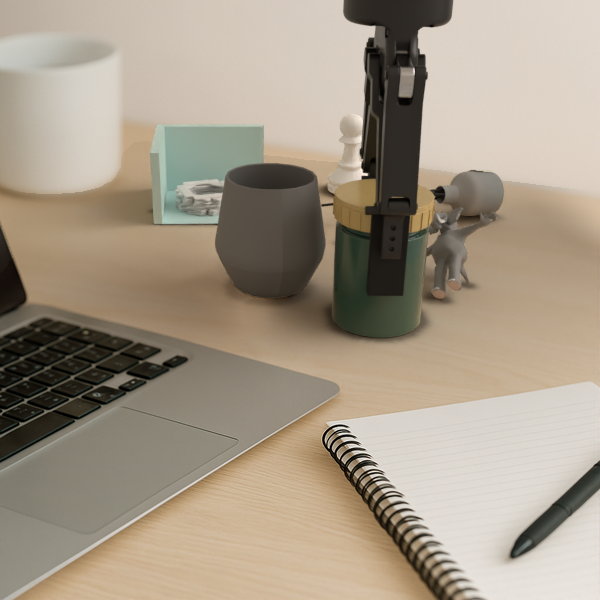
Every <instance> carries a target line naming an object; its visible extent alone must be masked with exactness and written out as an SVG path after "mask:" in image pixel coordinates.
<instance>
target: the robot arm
mask: <svg viewBox="0 0 600 600" xmlns="http://www.w3.org/2000/svg"><path fill="white" fill-rule="evenodd" d="M342 7H343V8H342V14H343V16H344V18H345V19H346V21H348V22H350V23H353V24H356V25H361V26H367V27H375V28H374V37H373V36H369V37H368V38H367V41H366V44H365V47H364V49H363V50H364V51H363V67H364V68H363V69H364V74H365V76H364V84H363V95H364V100H363V101H364V102H363V103H364V104H363V113H362V115H363V117H362V119H363V128H362V134H361V137H362V142H361V144H360V148H359V150H358V155H359V157H360V159H361V162H362V163H361V169H362V170H363V173H367V174H368V176H362V177H361V180H363V179H376V194H375V203H374V206H365V215H371V227H370V243H369V258H368V274H367V289H366V292H367V296H403V294H404V283H405V271H406V260H407V248H408V236H409V225H410V215H415V214H416V213H417V210H418V203H417V191H418V185H419V173H420V159H421V157H420V156H421V143H422V141H421V140H422V125H423V111H424V110H423V108H424V99H425V93H426V92H425V91H426V90H425V89H426V85H427V84H426V83H427V80H428V79H429V72H428V71H427V66H426V64H427V58H426V54H425V53H421V49H420V48H419V31H420V30H421V29H423V28H439V27H442V26H445V25H447V24H449V22H450V21H451V20H452V17H453V9H454V0H343V5H342ZM394 197H403V198H394Z"/></svg>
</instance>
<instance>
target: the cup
mask: <svg viewBox="0 0 600 600" xmlns="http://www.w3.org/2000/svg"><path fill="white" fill-rule="evenodd" d="M319 187H320V186H319V181H318V176H317V174H316V173H315V172H314V171H313V170H311V169H309V168H306V167H304V166H299V165H294V164H291V163H290V164H289V163H279V162H264V163H258V164H248V165H244V166H239V167H236V168H234V169H232V170H230V171H228V173H227V174H226V176H225V181H224V187H223V194H222V200H221V206H220V213H219V219H218V223H217V224H216V225H217V226H216V232H215V238H214V247H215V251H216V254H217V256H218V259H219V261H220V263H221V265H222V266H223V268H224V270H225V272H226V273H227V276H228V277H229V279H230V281H231V282H232V284H233V286H234V287H235V288H236V289H238V290H239V291H240V292H242V293H243V294H245V295H249V296H252V297H255V298H261V299H279V298H287V297H291V296H293V295H296V294H298V293H300V292H301V291H302V290H303V289H305V288H306V287H307V286H308V284H309V283H310V281H311V280H312V278H313V276H314V274H315V272H316V271H317V269H318V267H319V266H320V264H321V262H322V260H323V259H324V255H325V251H326V246H327V245H326V244H327V241H326V240H327V239H326V232H325V225H324V218H323V211H322V206H321V204H322V203H321V196H320V189H319Z"/></svg>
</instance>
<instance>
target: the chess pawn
mask: <svg viewBox="0 0 600 600" xmlns="http://www.w3.org/2000/svg"><path fill="white" fill-rule="evenodd" d="M362 128H363V117H362V116H360V115H359V114H356V113H347V114H346V115H344V116H343V117H342V118H341V120H340V123H339V130H340V132H341V134H342V135H341V136H340V137H339V138H338V142H340V143H342V144H343V145H344V146H343V153H342V155H341V159H340V160H337V161H338V162H337V168H336V169H334V170H333V171H332V172H331V173H329V175H328V176H327V180H328V182H327V191H329V193H331V194H333V195H335V190H336V188H337V187H338V186H340V185H342V184H344V183H347V182H351V181H356V180H361V177H362V176H368V173H363V170H362V169H361V163H362V160H360V158H359V157H360V156H359V145H361V142H362Z"/></svg>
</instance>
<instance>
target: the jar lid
mask: <svg viewBox="0 0 600 600" xmlns="http://www.w3.org/2000/svg"><path fill="white" fill-rule="evenodd" d="M430 190H431V189H429V188H427V187H425V186H422V185H420V184H418V191H417V203H418V210H417V213H416V214H415V215H410V225H409V233H412V232H417V231H420V230H422V229H425V228H426V227H428V226H429V225H430V224H431V223H432V222H433V216H434V213H435V206H436V205H435V204H436V203H435V200H434V198H435V196H434V194H433V193H432V192H431V191H430ZM375 194H376V179H363V180H356V181H351V182H347V183H344V184H342V185H340V186H338V187H337V188H336V190H335V194H334V198H332V199H333V201H332V203H333V206H332V215H333V217H334V219H335V221H338V222H339V223H340V224H342V225H344V226H346V227H348V228H351V229H354V230H358V231H361V232H367V233H370V227H371V215H365V206H374V203H375ZM394 198H403V197H394Z"/></svg>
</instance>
